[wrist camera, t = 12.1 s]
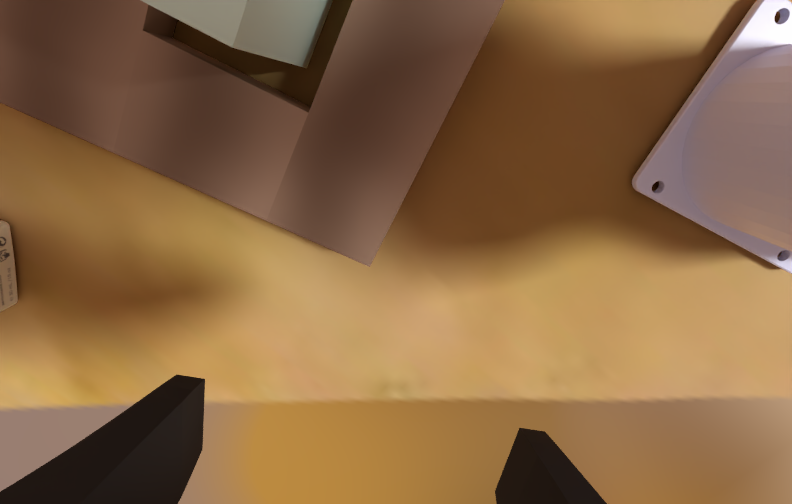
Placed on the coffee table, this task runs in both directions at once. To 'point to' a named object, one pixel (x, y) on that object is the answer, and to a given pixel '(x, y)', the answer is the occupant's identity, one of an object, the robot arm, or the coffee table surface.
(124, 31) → the walnut socket frame
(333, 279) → the coffee table surface
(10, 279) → the skincare box
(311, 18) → the sage peg
